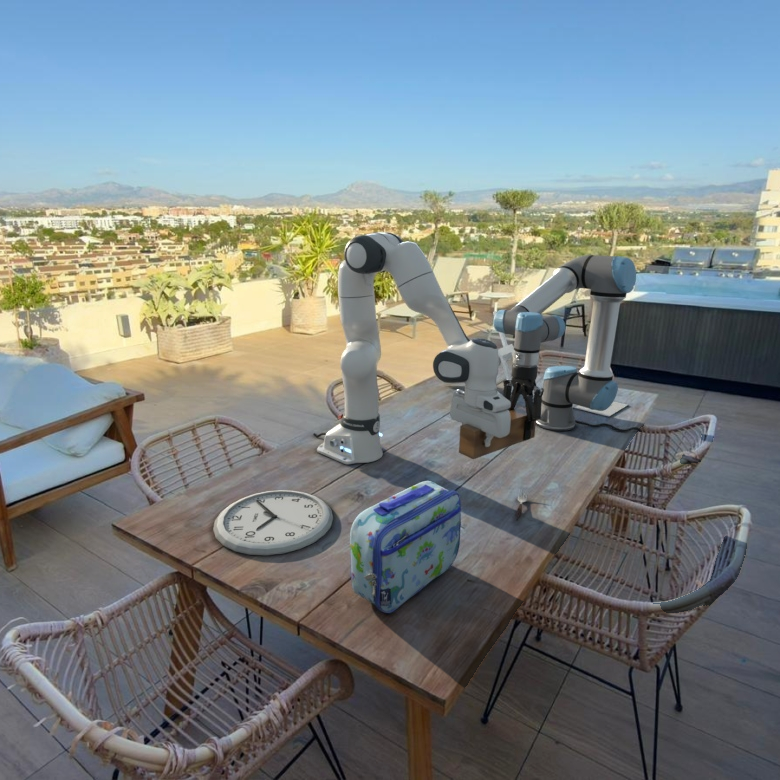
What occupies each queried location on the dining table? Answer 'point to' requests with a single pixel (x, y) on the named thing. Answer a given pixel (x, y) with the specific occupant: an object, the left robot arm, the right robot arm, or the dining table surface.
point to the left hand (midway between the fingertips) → (477, 442)
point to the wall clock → (273, 522)
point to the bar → (474, 437)
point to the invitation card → (609, 411)
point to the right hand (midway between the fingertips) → (518, 436)
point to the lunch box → (404, 544)
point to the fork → (521, 499)
